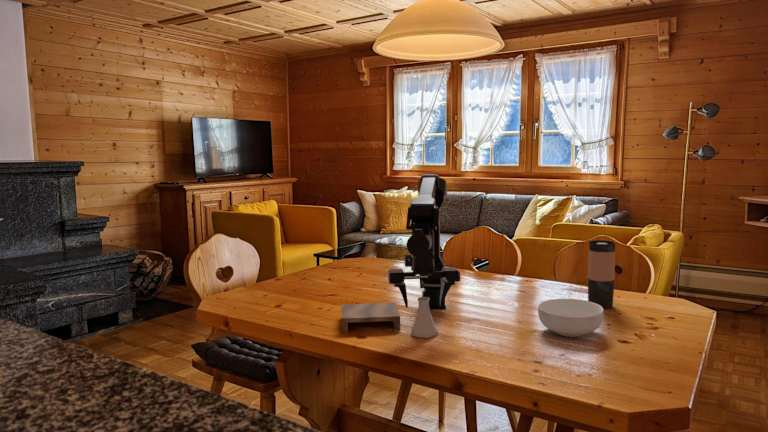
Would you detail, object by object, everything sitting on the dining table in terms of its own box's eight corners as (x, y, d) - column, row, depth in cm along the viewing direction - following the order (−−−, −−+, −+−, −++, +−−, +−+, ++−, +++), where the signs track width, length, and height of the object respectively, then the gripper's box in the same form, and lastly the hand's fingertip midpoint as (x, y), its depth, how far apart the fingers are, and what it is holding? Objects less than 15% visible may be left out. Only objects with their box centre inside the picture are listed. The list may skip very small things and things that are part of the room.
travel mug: (617, 305, 178) (619, 241, 175) (607, 310, 172) (609, 245, 170) (593, 301, 183) (595, 239, 180) (583, 306, 177) (584, 242, 175)
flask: (429, 340, 149) (429, 303, 147) (405, 336, 153) (405, 299, 151) (442, 332, 155) (441, 296, 154) (418, 328, 159) (418, 293, 157)
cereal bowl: (531, 322, 162) (531, 298, 161) (590, 322, 162) (591, 297, 161) (546, 343, 145) (546, 316, 144) (612, 342, 145) (613, 315, 144)
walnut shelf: (395, 315, 171) (395, 302, 171) (400, 330, 157) (400, 316, 157) (342, 317, 170) (341, 304, 169) (342, 332, 156) (341, 318, 156)
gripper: (452, 243, 160) (452, 297, 161) (385, 245, 158) (386, 300, 160) (460, 250, 148) (460, 308, 150) (388, 252, 147) (390, 311, 149)
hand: (423, 306), depth 153 cm, fingers open, 9 cm apart
